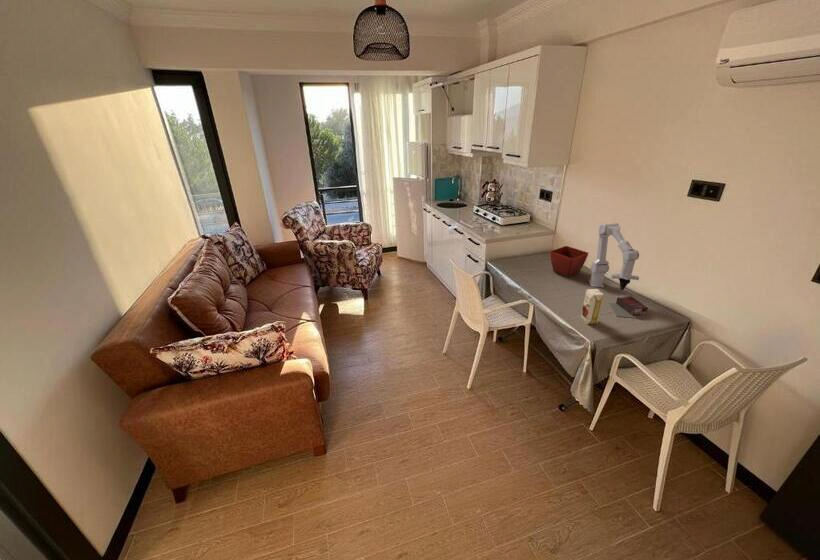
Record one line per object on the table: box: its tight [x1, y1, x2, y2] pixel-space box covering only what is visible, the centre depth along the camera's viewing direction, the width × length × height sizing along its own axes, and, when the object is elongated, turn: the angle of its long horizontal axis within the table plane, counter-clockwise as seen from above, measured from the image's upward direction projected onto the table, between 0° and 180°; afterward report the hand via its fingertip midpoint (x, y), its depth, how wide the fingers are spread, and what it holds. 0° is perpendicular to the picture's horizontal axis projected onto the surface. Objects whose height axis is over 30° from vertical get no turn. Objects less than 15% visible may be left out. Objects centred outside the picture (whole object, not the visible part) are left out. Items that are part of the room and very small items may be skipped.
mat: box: [608, 302, 643, 320], centre depth 197 cm, size 16×13×1 cm
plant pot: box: [550, 245, 589, 278], centre depth 245 cm, size 19×19×17 cm
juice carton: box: [580, 288, 605, 325], centre depth 185 cm, size 8×9×19 cm
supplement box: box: [614, 294, 649, 316], centre depth 197 cm, size 9×5×16 cm
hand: (621, 289), depth 204 cm, fingers closed
